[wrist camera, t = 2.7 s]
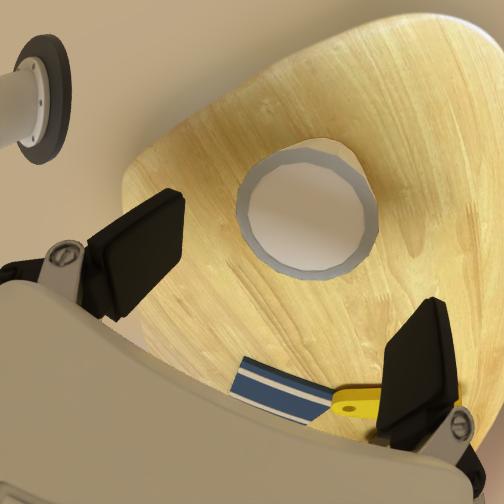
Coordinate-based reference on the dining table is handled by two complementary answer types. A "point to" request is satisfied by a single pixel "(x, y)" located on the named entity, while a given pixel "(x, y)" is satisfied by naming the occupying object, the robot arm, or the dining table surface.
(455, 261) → the dining table surface
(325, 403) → the towel
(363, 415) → the crank
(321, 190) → the white cup
